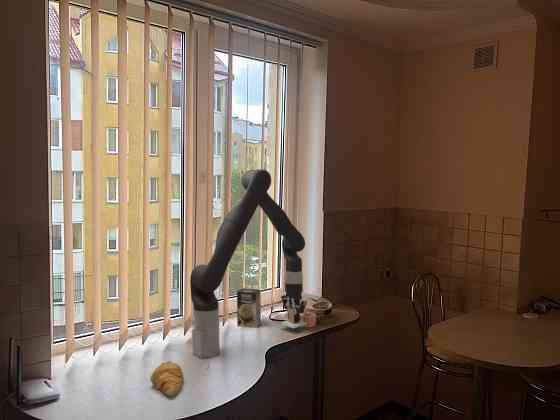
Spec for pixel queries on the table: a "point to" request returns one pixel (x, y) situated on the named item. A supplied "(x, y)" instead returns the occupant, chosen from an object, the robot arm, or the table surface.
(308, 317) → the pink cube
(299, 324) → the lid
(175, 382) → the croissant
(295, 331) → the mat
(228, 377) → the table surface
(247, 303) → the coffee box
